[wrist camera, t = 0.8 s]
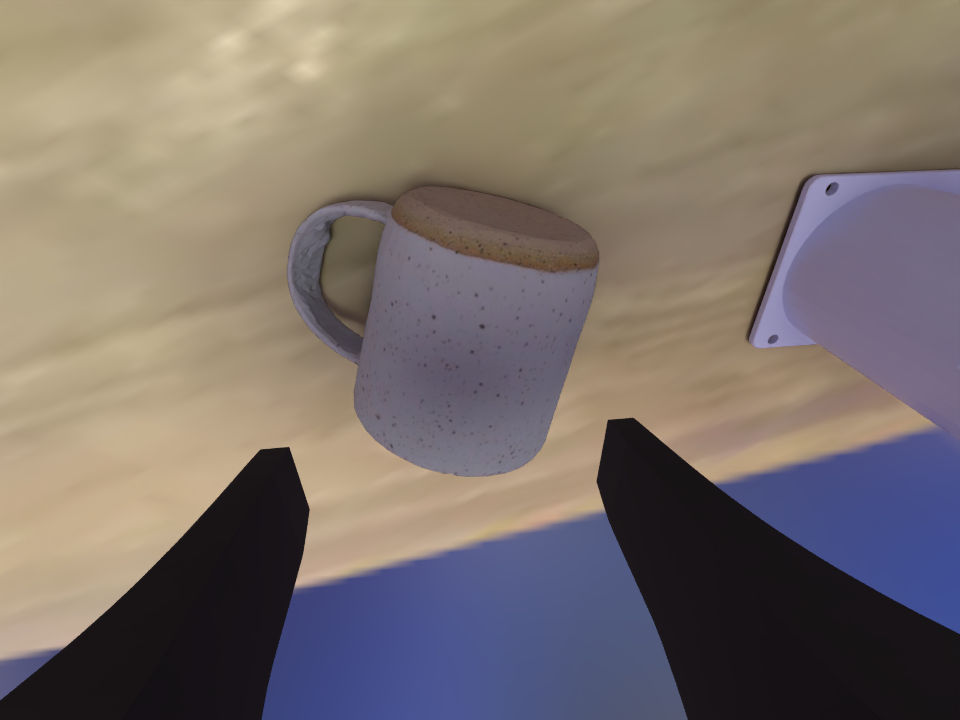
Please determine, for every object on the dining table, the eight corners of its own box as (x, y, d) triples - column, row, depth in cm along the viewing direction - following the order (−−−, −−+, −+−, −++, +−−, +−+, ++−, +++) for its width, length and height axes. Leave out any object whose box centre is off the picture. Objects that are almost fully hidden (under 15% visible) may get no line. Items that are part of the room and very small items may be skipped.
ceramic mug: (577, 203, 18) (661, 274, 11) (524, 371, 22) (563, 494, 16) (298, 143, 16) (208, 190, 9) (297, 342, 20) (233, 469, 14)
